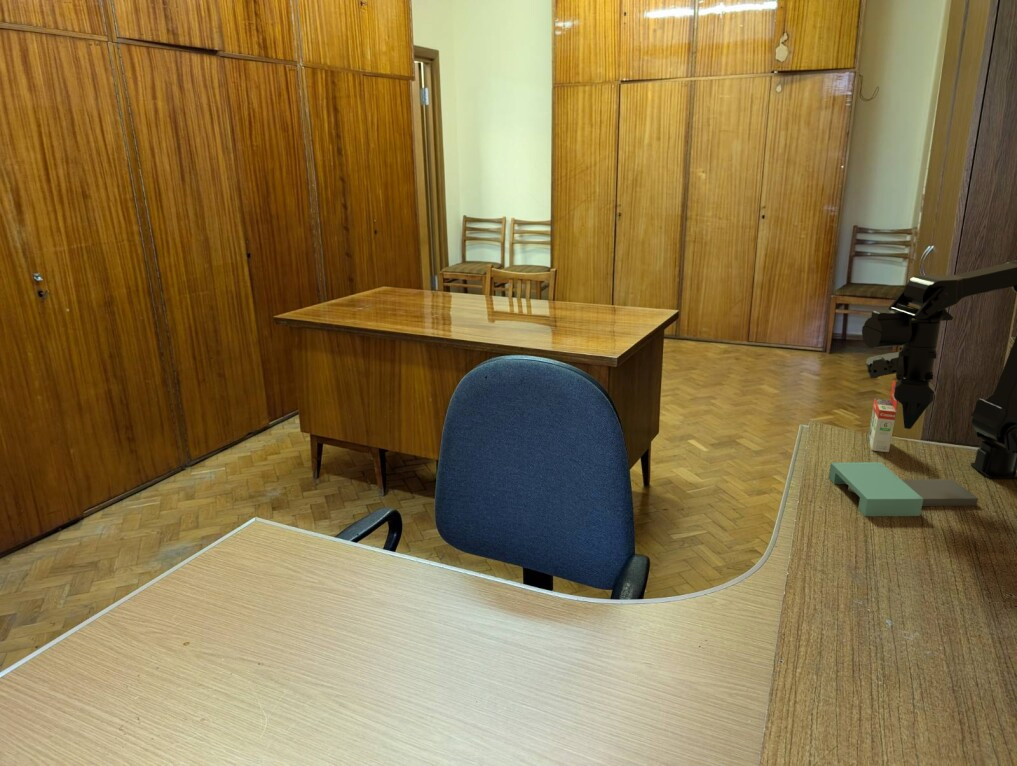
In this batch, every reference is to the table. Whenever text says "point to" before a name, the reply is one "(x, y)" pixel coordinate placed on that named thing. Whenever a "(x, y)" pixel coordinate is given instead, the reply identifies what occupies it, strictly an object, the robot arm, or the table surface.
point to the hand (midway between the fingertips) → (907, 420)
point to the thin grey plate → (941, 492)
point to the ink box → (882, 422)
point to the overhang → (877, 489)
